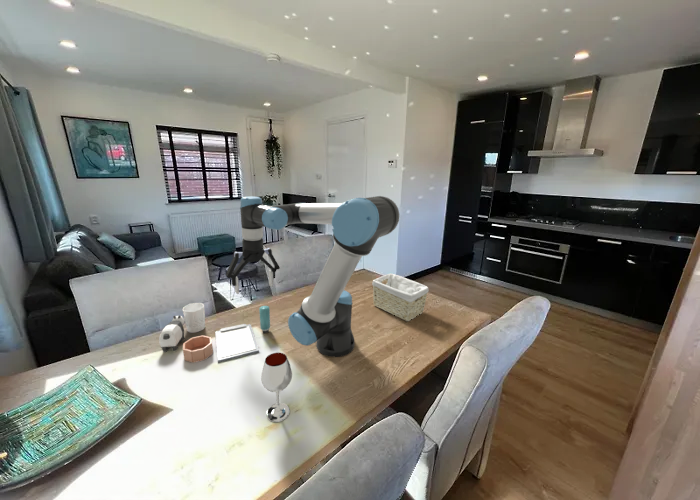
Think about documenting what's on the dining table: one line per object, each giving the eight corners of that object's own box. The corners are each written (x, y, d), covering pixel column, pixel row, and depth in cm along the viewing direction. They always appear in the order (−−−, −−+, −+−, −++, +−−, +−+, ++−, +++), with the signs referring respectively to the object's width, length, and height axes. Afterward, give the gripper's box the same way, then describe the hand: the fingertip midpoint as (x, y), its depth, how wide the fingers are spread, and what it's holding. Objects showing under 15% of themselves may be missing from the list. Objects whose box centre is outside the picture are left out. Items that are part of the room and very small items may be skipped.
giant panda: (176, 353, 103) (172, 330, 100) (159, 354, 102) (155, 331, 99) (191, 331, 117) (188, 310, 114) (176, 331, 116) (173, 311, 113)
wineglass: (266, 401, 83) (263, 349, 78) (294, 400, 84) (293, 349, 79) (260, 425, 75) (256, 370, 70) (291, 424, 76) (289, 369, 71)
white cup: (197, 334, 114) (194, 313, 111) (181, 332, 115) (177, 310, 113) (210, 324, 121) (208, 304, 119) (194, 322, 123) (192, 301, 120)
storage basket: (427, 313, 139) (430, 286, 135) (408, 324, 128) (411, 295, 124) (388, 297, 155) (391, 272, 151) (369, 306, 144) (371, 279, 140)
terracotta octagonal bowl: (213, 357, 101) (212, 347, 100) (184, 364, 97) (182, 353, 96) (212, 343, 109) (211, 333, 108) (185, 349, 105) (183, 339, 103)
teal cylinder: (271, 332, 118) (270, 309, 114) (261, 334, 116) (260, 311, 113) (269, 327, 121) (268, 304, 118) (259, 329, 119) (258, 306, 116)
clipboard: (259, 352, 105) (258, 348, 105) (218, 362, 99) (217, 358, 98) (250, 325, 122) (250, 322, 122) (215, 333, 116) (214, 329, 115)
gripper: (280, 232, 116) (280, 279, 122) (214, 238, 101) (219, 291, 108) (287, 237, 110) (287, 286, 116) (219, 244, 96) (223, 299, 102)
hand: (254, 289), depth 112 cm, fingers open, 13 cm apart
